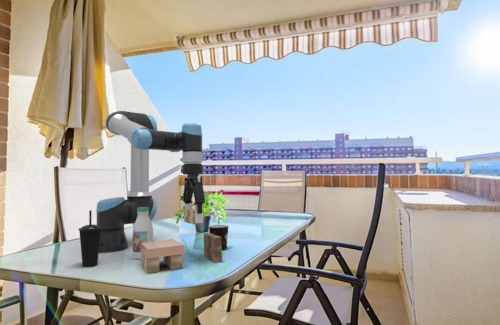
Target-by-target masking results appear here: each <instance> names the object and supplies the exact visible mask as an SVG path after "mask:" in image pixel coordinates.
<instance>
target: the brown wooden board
mask: <svg viewBox="0 0 500 325" xmlns="http://www.w3.org/2000/svg"><path fill="white" fill-rule="evenodd" d="M203 251H204V252H203V254H204V258H206V259H208V260H209V261H212V262H213V263H215V264H218V263H222V261H223V255H222V254H223V250H222V241H221V237H220V236H217V235H214V234H211V233H210V232H208V233H207V232H206V233H203Z"/></svg>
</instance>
